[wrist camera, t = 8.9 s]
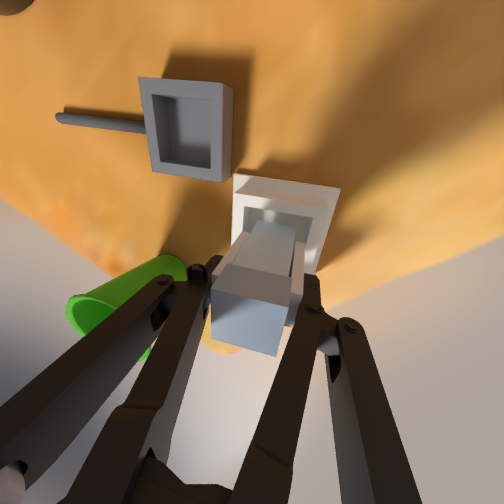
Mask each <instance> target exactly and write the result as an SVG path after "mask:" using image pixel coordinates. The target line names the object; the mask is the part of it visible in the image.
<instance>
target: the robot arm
mask: <svg viewBox="0 0 504 504" xmlns="http://www.w3.org/2000/svg"><path fill="white" fill-rule="evenodd" d="M32 1H33V0H0V15H4V16H8V15H14V14H17V13H20V12H21V11H23V10H24V9H26V8H27V7H28V6H29V5H30V4H31V2H32ZM249 235H250V232H244V231H242V232H241V233H240V235H239V236H238V238H237V239H236V240H235V242H234V243H233V245H232V246H231V247H230V249H229V250H228V252H227V253H226V254H225V256H221V255H215V256H213V257H211V258H210V260H209V261H208V262H207V263H206V265H202V264H194V265H191V266H189V267H188V268H187V269H186V273H187V281H174V278H173V276H171V275H167V274H163V275H158V276H156V277H154V278H153V279H152V280H151V281H149V282H148V283H147V284H146V285H145V286H143V287H142V288H141V289H140V290H139V291H138V292H136V293H135V294H134V295H133V296H132V297H130V298H129V299H128V300H127V301H126V302H124V303H123V304H122V305H121V306H120V307H118V308H117V309H116V310H115V311H114V312H113V313H111V314H110V315H109V316H108V317H107V318H105V319H104V320H103V321H102V322H101V323H99V324H98V325H97V326H96V327H95V328H94V329H92V330H91V331H90V332H89V333H88V334H86V335H85V336H84V337H83V338H82V339H81V340H79V341H78V342H77V343H76V344H75V345H73V346H72V347H71V348H70V349H69V350H67V351H66V352H65V353H64V354H63V355H61V356H60V357H59V358H58V359H57V360H56V361H54V362H53V363H52V364H51V365H50V366H48V367H47V368H46V369H45V370H44V371H43V372H41V373H40V374H39V375H38V376H37V377H35V378H34V379H33V380H32V381H31V382H30V383H28V384H27V385H26V386H25V387H23V388H22V389H21V390H20V391H19V392H18V393H16V394H15V395H14V396H13V397H12V398H10V399H9V400H8V401H7V402H6V403H4V404H3V405H2V406H1V407H0V504H22V499H23V496H24V492H25V491H26V490H27V489H28V488H29V487H30V486H31V485H32V484H33V483H35V481H37V480H38V479H39V478H40V477H41V475H42V474H43V473H44V472H45V471H46V470H47V469H48V468H49V467H50V466H51V465H52V464H53V463H54V462H55V461H56V460H57V459H58V457H59V456H60V455H61V454H62V453H63V452H64V451H65V449H66V448H67V447H68V446H69V445H70V443H71V442H72V441H73V440H74V439H75V437H76V436H77V435H78V433H79V432H80V431H81V430H82V429H83V428H84V426H85V425H86V424H87V423H88V421H89V420H90V419H91V418H92V416H93V415H94V414H95V413H96V412H97V410H98V409H99V408H100V406H101V405H102V404H103V403H104V402H105V401H106V399H107V398H108V397H109V396H110V394H111V393H112V392H113V391H114V389H115V388H116V387H117V386H118V385H119V383H120V382H121V381H122V380H123V378H124V377H125V376H126V375H127V374H128V372H129V371H130V370H131V369H132V367H133V366H134V365H135V364H136V363H137V361H138V360H139V359H140V358H141V356H142V355H143V354H144V353H145V352H146V350H147V349H148V348H149V347H150V345H151V344H152V343H153V342H154V341H155V339H156V338H157V337H158V338H157V340H156V342H155V344H154V346H153V348H152V350H151V352H150V354H149V356H148V358H147V360H146V362H145V364H144V366H143V368H142V370H141V372H140V373H139V375H138V378H137V380H136V381H135V383H134V385H133V387H132V389H131V391H130V393H129V395H128V397H127V399H126V400H125V402H124V403H123V404H122V405H120V406H118V407H116V408H115V409H114V411H113V412H112V413H111V415H110V416H109V418H108V419H107V421H106V423H105V425H104V427H103V429H102V431H101V433H100V435H99V436H98V438H97V440H96V442H95V444H94V446H93V447H92V449H91V451H90V453H89V455H88V457H87V459H86V460H85V463H84V464H83V466H82V468H81V470H80V472H79V473H78V475H77V477H76V479H75V481H74V483H73V485H72V486H71V488H70V490H69V492H68V494H67V496H66V497H65V498H63V499H62V500H61V501H59V502H58V503H57V504H287V503H288V499H289V494H290V489H291V483H292V475H293V462H294V456H295V452H296V447H297V441H298V437H299V433H300V428H301V423H302V418H303V413H304V409H305V404H306V399H307V394H308V389H309V384H310V380H311V375H312V370H313V365H314V360H315V356H316V351H317V349H318V350H320V351H322V352H323V353H325V363H326V371H327V379H328V389H329V397H330V406H331V414H332V423H333V432H334V441H335V449H336V458H337V466H338V474H339V484H340V492H341V501H342V504H422V501H421V498H420V495H419V492H418V489H417V486H416V483H415V480H414V477H413V474H412V471H411V468H410V465H409V462H408V459H407V456H406V454H405V450H404V447H403V445H402V441H401V438H400V435H399V433H398V429H397V427H396V423H395V421H394V418H393V415H392V412H391V409H390V406H389V403H388V400H387V397H386V394H385V391H384V388H383V385H382V382H381V379H380V376H379V373H378V370H377V367H376V364H375V361H374V358H373V355H372V352H371V349H370V346H369V343H368V340H367V337H366V334H365V331H364V329H363V327H362V325H360V323H359V322H357V321H355V320H354V319H351V318H348V317H343V318H340V319H339V320H337V319H335V318H333V317H331V316H329V315H328V314H327V313H325V311H324V308H323V307H322V306H321V295H320V281H319V279H318V278H317V276H316V275H312V274H307V273H304V257H305V243H302V242H297V241H296V243H295V247H294V252H293V256H292V260H291V265H290V271H289V277H292V285H291V293H290V302H289V309H288V313H287V316H286V320H285V324H284V326H288V327H292V328H293V329H292V332H291V334H290V337H289V340H288V343H287V345H286V348H285V351H284V354H283V356H282V360H281V362H280V365H279V368H278V370H277V373H276V376H275V378H274V381H273V384H272V387H271V390H270V392H269V395H268V398H267V401H266V403H265V406H264V409H263V412H262V414H261V417H260V420H259V423H258V426H257V428H256V431H255V434H254V436H253V439H252V441H251V443H250V446H249V448H248V451H247V453H246V456H245V459H244V461H243V464H242V467H241V470H240V472H239V475H238V478H237V481H236V483H235V486H234V489H233V490H230V489H228V488H225V487H223V486H220V485H218V484H185V483H183V482H182V481H181V480H180V479H179V478H178V477H177V476H176V475H175V474H174V473H173V472H172V471H171V470H170V469H169V468H168V467H167V466H166V464H167V460H168V456H169V451H170V444H171V437H172V433H173V430H174V426H175V423H176V419H177V416H178V413H179V410H180V406H181V403H182V399H183V396H184V393H185V389H186V386H187V382H188V379H189V376H190V372H191V369H192V366H193V363H194V359H195V356H196V352H197V349H198V345H199V342H200V339H201V336H202V332H203V329H204V326H205V322H206V319H207V315H208V312H209V305H210V303H211V287H212V286H213V284H214V283H215V281H216V280H217V278H218V276H219V275H220V273H221V272H222V270H223V269H224V267H225V266H226V264H227V263H228V264H232V263H233V261H234V260H235V258H236V256H237V255H238V253H239V251H240V250H241V248H242V246H243V245H244V243H245V242H246V240H247V238H248V237H249Z"/></svg>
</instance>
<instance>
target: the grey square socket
mask: <svg viewBox="0 0 504 504" xmlns="http://www.w3.org/2000/svg"><path fill="white" fill-rule="evenodd" d="M138 81H139V88H140V94H141V101H142V108H143V114H144V121H145V127H146V134H147V141H148V147H149V154H150V160H151V167H152V172H157V173H163V174H170V175H176V176H183V177H189V178H196V179H202V180H209V181H215V182H223V181H225V180H227V179H229V178H231V157H232V130H233V103H234V90H233V89H232V88H230V87H229V86H227V85H225V84H224V83H218V82H204V81H190V80H176V79H162V78H148V77H138Z"/></svg>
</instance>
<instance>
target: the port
mask: <svg viewBox="0 0 504 504" xmlns="http://www.w3.org/2000/svg"><path fill="white" fill-rule="evenodd" d="M340 191H341V189H340V188H336V187H330V186H323V185H316V184H309V183H302V182H295V181H288V180H281V179H274V178H267V177H260V176H253V175H246V174H240V173H235V174H234V182H233V205H232V227H231V246H232V245H233V243H234V242H235V240H236V239H237V238H238V236H239V235H240V233H241V232H242V231H244V232H250V233H251V232H252V230H253V228H254V227H255V225H256V223H257V222H258V220H261V221H266V222H272V223H278V224H283V225H289V226H294V227H296V230H295V236H294V243H293V250H292V256H293V252H294V247H295V243H296V241H297V242H302V243H305V257H304V273H307V274H312V275H316V272H315V271H316V268H317V264H318V261H319V258H320V255H321V252H322V248H323V245H324V242H325V239H326V236H327V233H328V229H329V226H330V223H331V220H332V217H333V213H334V210H335V207H336V204H337V201H338V197H339V194H340ZM291 260H292V257H291ZM290 265H291V264H290Z"/></svg>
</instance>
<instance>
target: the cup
mask: <svg viewBox="0 0 504 504" xmlns="http://www.w3.org/2000/svg"><path fill="white" fill-rule="evenodd" d="M186 269H187V268H186V266H185V265H184V263H183V262H182V261H181V260H180V259H178V258H177V257H175V256H172V255H167V254H165V255H159V256H157V257H155V258H153V259H152V260H150V261H148V262H146V263H144V264H142V265H140V266H138V267H136V268H134V269H132V270H130V271H128V272H126V273H125V274H123V275H121V276H119V277H117V278H115V279H113V280H111V281H109V282H107V283H105V284H103V285H101V286H100V287H98V288H96V289H94V290H92V291H90V292H88V293H86V294H80V295H74V296H73V297H71V298H70V299H69V301H68V302H67V304H66V306H65V307H66V315H67V318H68V320H69V322H70V323H71V325H72V327H73V328H74V329H75V330H76V332H77V333H78V334H79V335H80V336H81V337H82V338H83V337H84V336H85V335H86V334H88V333H89V332H90V331H91V330H92V329H94V328H95V327H96V326H97V325H98V324H99V323H101V322H102V321H103V320H104V319H105V318H107V317H108V316H109V315H110V314H111V313H113V312H114V311H115V310H116V309H117V308H118V307H120V306H121V305H122V304H123V303H124V302H126V301H127V300H128V299H129V298H130V297H132V296H133V295H134V294H135V293H136V292H138V291H139V290H140V289H141V288H142V287H143V286H145V285H146V284H147V283H148V282H149V281H151V280H152V279H153V278H154V277H156V276H158V275H163V274H167V275H171V276H173V278H174V281H187V273H186ZM150 352H151V345H150V347H149V348H148V349H147V350H146V352H145V353H144V354H143V355H142V356H141V358H140V359H139V360H138V361H142V360H144V359H145V358H147V357H148V356H149V354H150ZM138 361H137V362H138Z"/></svg>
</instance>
